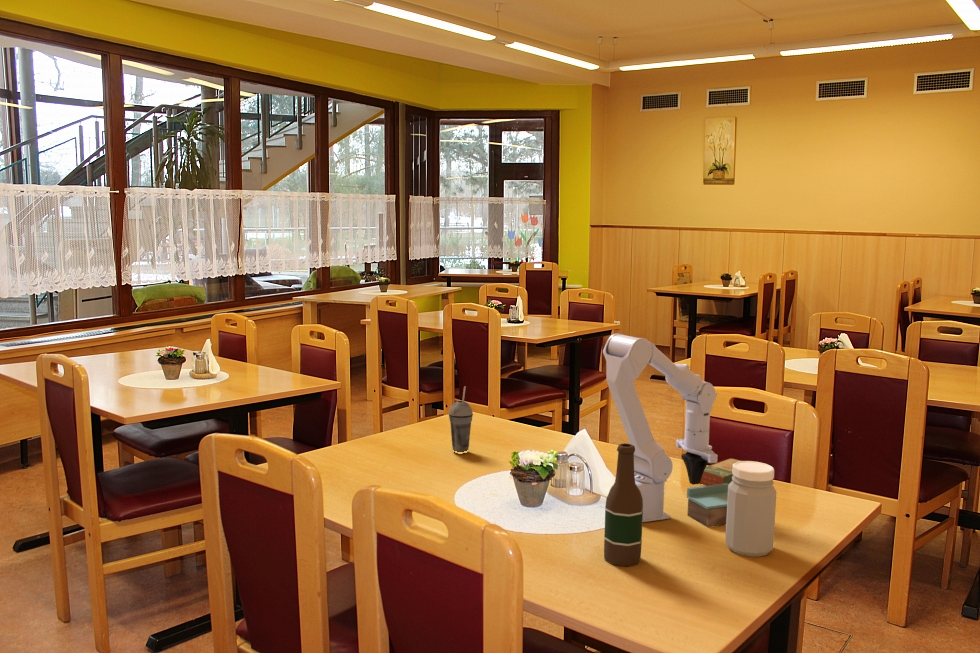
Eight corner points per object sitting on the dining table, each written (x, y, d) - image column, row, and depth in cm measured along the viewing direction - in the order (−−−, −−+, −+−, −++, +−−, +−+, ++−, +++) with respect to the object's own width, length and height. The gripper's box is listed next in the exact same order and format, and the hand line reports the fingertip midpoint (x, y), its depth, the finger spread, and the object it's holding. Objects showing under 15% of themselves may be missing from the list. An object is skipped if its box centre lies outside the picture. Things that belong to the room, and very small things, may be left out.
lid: (707, 509, 178) (707, 499, 178) (686, 497, 186) (687, 487, 185) (747, 503, 182) (747, 493, 182) (725, 492, 189) (726, 483, 189)
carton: (756, 479, 214) (757, 464, 213) (722, 492, 204) (723, 476, 203) (729, 472, 220) (730, 457, 220) (695, 483, 210) (696, 468, 209)
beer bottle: (615, 548, 166) (619, 437, 163) (648, 558, 161) (653, 444, 158) (595, 560, 160) (599, 445, 157) (629, 571, 155) (633, 452, 152)
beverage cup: (445, 449, 238) (446, 384, 235) (468, 448, 240) (469, 383, 237) (451, 456, 231) (452, 389, 228) (475, 454, 233) (476, 388, 230)
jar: (733, 558, 162) (737, 473, 159) (718, 539, 171) (722, 459, 169) (780, 558, 162) (785, 473, 160) (763, 539, 172) (767, 459, 169)
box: (707, 527, 178) (708, 510, 178) (687, 515, 186) (688, 498, 185) (748, 521, 182) (748, 505, 181) (726, 510, 189) (727, 494, 189)
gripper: (729, 435, 185) (726, 491, 187) (694, 420, 198) (691, 473, 200) (703, 437, 182) (701, 494, 184) (669, 422, 196) (667, 475, 198)
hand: (694, 483), depth 192 cm, fingers closed
